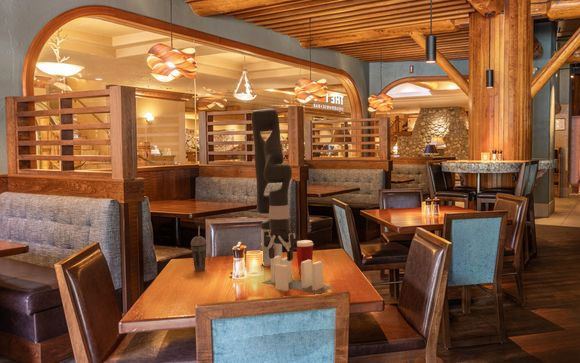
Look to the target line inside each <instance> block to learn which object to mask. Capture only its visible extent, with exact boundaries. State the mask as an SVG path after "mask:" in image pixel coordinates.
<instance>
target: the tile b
mask: <svg viewBox="0 0 580 363" xmlns="http://www.w3.org/2000/svg"><path fill="white" fill-rule="evenodd" d="M280 265H287V266H288V283H290V282H292V280H293V273H292V271H293V270H292V268H293V267H292V261H287V256H286V257H282V259H280Z"/></svg>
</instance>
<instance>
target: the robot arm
mask: <svg viewBox="0 0 580 363" xmlns="http://www.w3.org/2000/svg"><path fill="white" fill-rule="evenodd" d="M251 128H252V135H253V136H252V137H253V142H254V143H253V144H254V166H255V167H254V168H255V176H256V207H257V212H258V213H259V214H265V215H266V214H268V215H269V218H268V219H265V220H263V221H261V223H260V231H261V232H260V233H261V234H260V235H261V243H260V244H259V248H260V250H259V251H263V262H264V267H271V260H270V259H272V258H274V257H275V256H281V259H283V247H284V248H285V249H286V257H287V261H291V262H292V261H293V259H294V250H297V241H298V239H297V233H296V232H294V233H290V231H289V230H290V228H291V227H290V209H289V208H290V207H289V187H290V183H291V178H292V175H293V170H292V167H291V166H290V165H289V164H288V163H284V158H285V156H284V152H283V149H282V145H281V129H280V120H279V113H278V112H277V109H275V108H264V109H263V108H262V109H255V110H253V111H252V113H251ZM265 132H271V133H270V135H269V136H268V138H267V139H266V141H265V140H264V138H263V136H262V133H265ZM269 184H281V185H280V186H279V187H278V188H273V189H271V190H269V193H265V191H266V190H267V189H266V188H267V186H268V185H269Z"/></svg>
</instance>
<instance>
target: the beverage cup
mask: <svg viewBox="0 0 580 363" xmlns="http://www.w3.org/2000/svg"><path fill="white" fill-rule="evenodd" d="M200 227H201V226H200V225H198V233H197V234H198V235H196V236H194V237H193V238H192V239H191V241H190V249H191V254H192V260H193V261H192V262H193V268H194V271H195V272H203V271H205V270H206V257H207V256H206V255H207V252H206V251H207V245H208V243H207V241H206V239H205V237H203V236H201V235H200V229H201V228H200Z"/></svg>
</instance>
